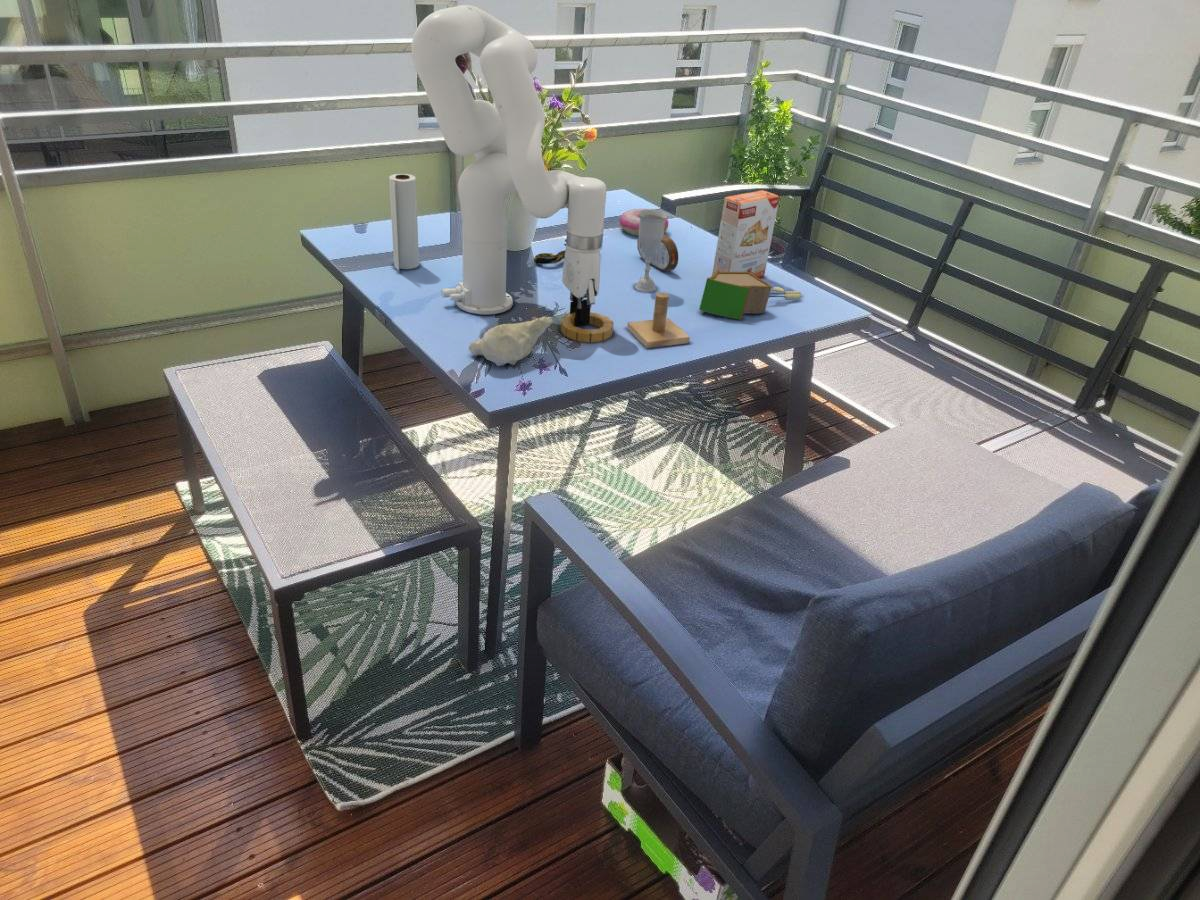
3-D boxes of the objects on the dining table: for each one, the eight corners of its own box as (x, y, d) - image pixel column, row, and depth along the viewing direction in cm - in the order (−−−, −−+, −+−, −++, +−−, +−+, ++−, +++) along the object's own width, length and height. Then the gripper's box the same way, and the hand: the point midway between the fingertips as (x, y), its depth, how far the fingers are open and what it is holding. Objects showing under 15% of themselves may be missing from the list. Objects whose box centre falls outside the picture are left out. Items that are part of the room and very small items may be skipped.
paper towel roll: (409, 259, 222) (405, 171, 211) (424, 266, 219) (421, 177, 207) (384, 265, 218) (379, 175, 206) (399, 273, 214) (394, 182, 203)
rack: (646, 348, 190) (651, 306, 184) (626, 328, 197) (630, 287, 192) (688, 343, 193) (694, 301, 188) (667, 323, 201) (672, 283, 196)
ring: (572, 344, 189) (572, 336, 187) (553, 323, 197) (554, 314, 196) (620, 339, 193) (621, 330, 191) (600, 317, 201) (600, 309, 200)
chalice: (657, 295, 214) (665, 221, 204) (628, 291, 215) (635, 217, 205) (661, 284, 220) (669, 211, 210) (633, 280, 221) (641, 207, 211)
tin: (677, 274, 226) (681, 242, 222) (667, 276, 225) (671, 243, 220) (643, 254, 237) (646, 222, 232) (633, 256, 235) (636, 224, 231)
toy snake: (538, 248, 220) (526, 237, 228) (537, 266, 222) (525, 255, 231) (607, 246, 227) (592, 236, 235) (605, 264, 229) (591, 253, 237)
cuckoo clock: (783, 300, 225) (685, 301, 210) (791, 270, 222) (692, 269, 207) (814, 318, 217) (715, 320, 202) (824, 287, 213) (723, 287, 198)
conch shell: (467, 381, 176) (525, 349, 169) (453, 346, 177) (510, 313, 169) (512, 375, 189) (567, 345, 182) (498, 343, 190) (553, 312, 182)
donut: (618, 237, 246) (619, 219, 244) (619, 221, 257) (620, 204, 255) (667, 241, 246) (669, 223, 244) (666, 225, 258) (668, 208, 255)
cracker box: (728, 288, 221) (741, 203, 210) (710, 279, 225) (722, 196, 214) (766, 277, 229) (781, 195, 218) (748, 269, 233) (762, 188, 222)
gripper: (553, 228, 193) (550, 308, 203) (582, 254, 181) (577, 338, 190) (586, 225, 195) (581, 305, 205) (616, 252, 183) (609, 334, 193)
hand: (579, 320), depth 198 cm, fingers closed on ring, 2 cm apart
